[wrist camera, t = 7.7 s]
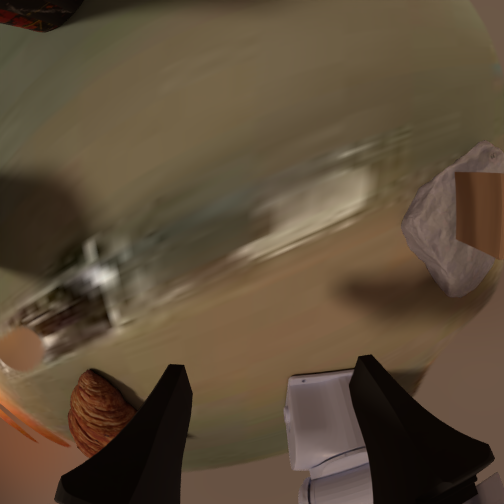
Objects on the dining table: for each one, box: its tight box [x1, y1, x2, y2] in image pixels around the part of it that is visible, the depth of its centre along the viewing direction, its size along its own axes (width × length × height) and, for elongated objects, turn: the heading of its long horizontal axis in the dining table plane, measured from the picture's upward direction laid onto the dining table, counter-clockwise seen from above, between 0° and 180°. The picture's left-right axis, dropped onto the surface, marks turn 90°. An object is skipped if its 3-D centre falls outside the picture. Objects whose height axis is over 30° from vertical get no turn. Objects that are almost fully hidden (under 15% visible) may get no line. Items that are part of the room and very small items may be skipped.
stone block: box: [401, 140, 504, 298], centre depth 17 cm, size 12×5×10 cm
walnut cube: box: [455, 172, 504, 260], centre depth 12 cm, size 4×4×5 cm
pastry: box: [68, 370, 137, 458], centre depth 26 cm, size 17×15×8 cm
